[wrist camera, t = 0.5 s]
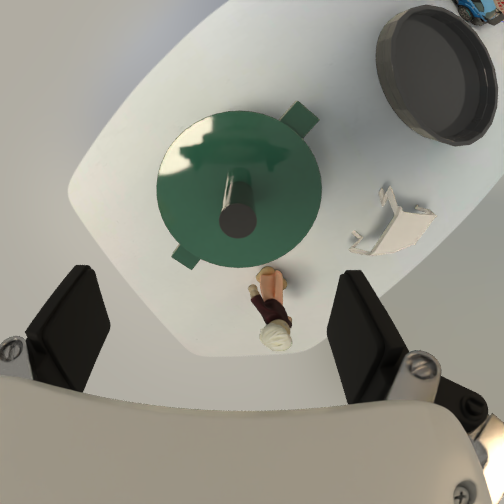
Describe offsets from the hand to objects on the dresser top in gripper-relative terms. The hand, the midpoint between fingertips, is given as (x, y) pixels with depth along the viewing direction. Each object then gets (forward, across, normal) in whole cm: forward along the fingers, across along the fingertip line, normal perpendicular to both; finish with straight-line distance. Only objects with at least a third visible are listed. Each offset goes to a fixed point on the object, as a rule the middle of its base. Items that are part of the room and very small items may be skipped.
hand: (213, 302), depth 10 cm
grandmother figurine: (+24, -5, +15) cm, 29 cm away
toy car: (+24, -30, -32) cm, 50 cm away
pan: (+24, -25, -15) cm, 38 cm away
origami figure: (+24, -19, +6) cm, 32 cm away
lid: (+14, -1, 0) cm, 15 cm away
